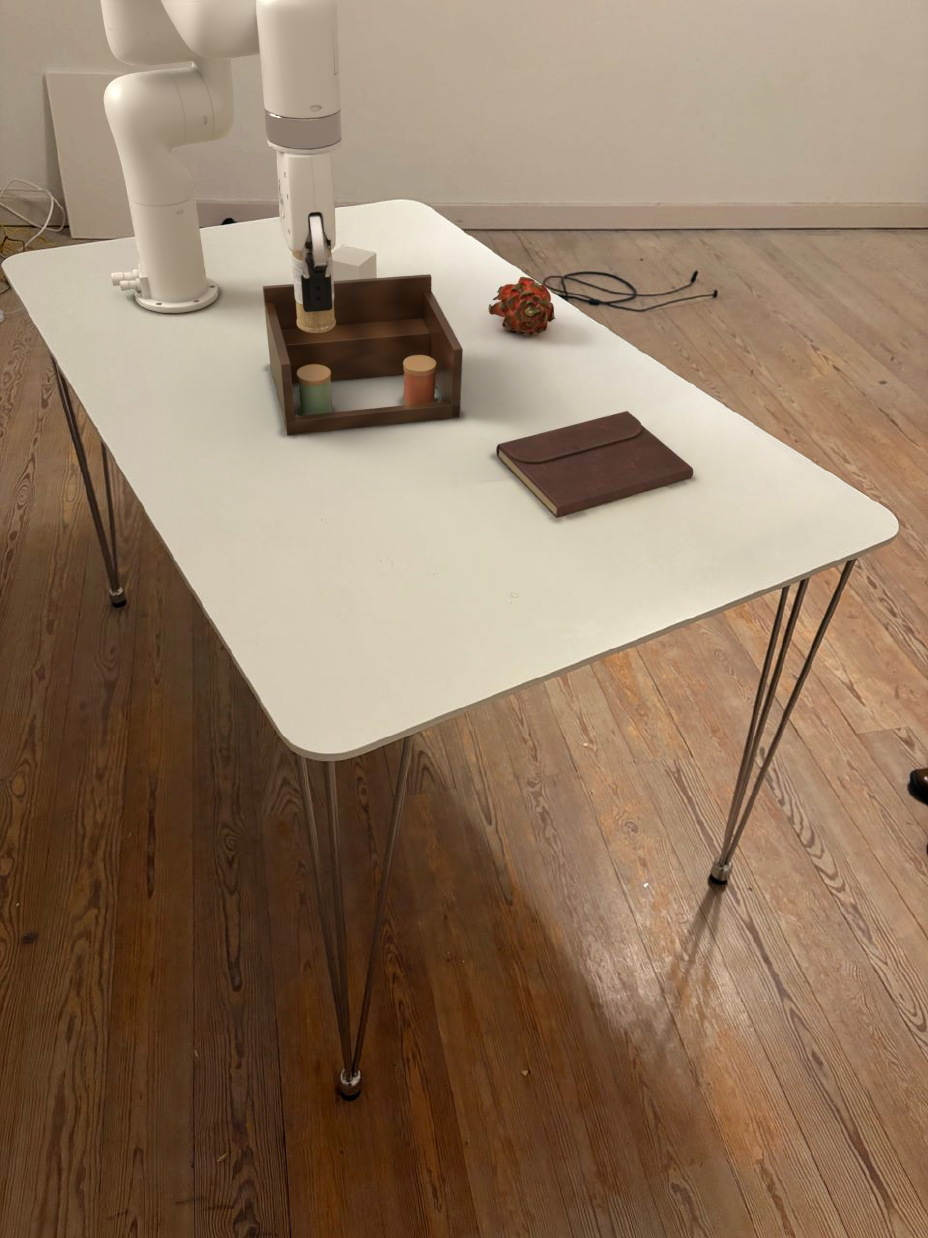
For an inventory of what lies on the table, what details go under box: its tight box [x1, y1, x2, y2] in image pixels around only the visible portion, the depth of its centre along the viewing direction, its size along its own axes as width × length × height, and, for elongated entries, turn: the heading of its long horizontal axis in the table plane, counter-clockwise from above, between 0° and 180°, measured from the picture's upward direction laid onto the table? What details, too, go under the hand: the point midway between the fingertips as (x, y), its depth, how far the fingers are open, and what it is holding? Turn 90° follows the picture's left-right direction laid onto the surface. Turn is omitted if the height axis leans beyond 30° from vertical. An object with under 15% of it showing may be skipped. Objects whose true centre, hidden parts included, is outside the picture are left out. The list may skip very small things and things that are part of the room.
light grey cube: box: [331, 244, 378, 281], centre depth 160 cm, size 6×6×6 cm
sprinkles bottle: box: [291, 223, 336, 333], centre depth 112 cm, size 5×5×13 cm
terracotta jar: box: [403, 355, 436, 405], centre depth 136 cm, size 4×4×6 cm
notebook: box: [495, 410, 694, 519], centre depth 127 cm, size 15×20×2 cm
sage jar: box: [297, 364, 333, 416], centre depth 133 cm, size 4×4×6 cm
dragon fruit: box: [487, 276, 556, 337], centre depth 153 cm, size 8×8×12 cm
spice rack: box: [262, 273, 464, 436], centre depth 135 cm, size 23×18×12 cm
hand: (314, 298), depth 114 cm, fingers closed on sprinkles bottle, 4 cm apart
